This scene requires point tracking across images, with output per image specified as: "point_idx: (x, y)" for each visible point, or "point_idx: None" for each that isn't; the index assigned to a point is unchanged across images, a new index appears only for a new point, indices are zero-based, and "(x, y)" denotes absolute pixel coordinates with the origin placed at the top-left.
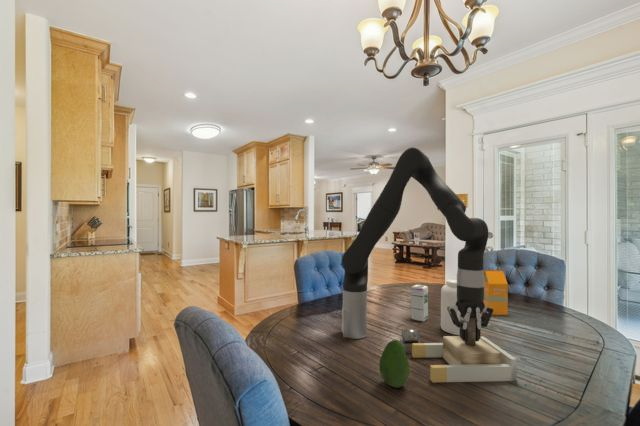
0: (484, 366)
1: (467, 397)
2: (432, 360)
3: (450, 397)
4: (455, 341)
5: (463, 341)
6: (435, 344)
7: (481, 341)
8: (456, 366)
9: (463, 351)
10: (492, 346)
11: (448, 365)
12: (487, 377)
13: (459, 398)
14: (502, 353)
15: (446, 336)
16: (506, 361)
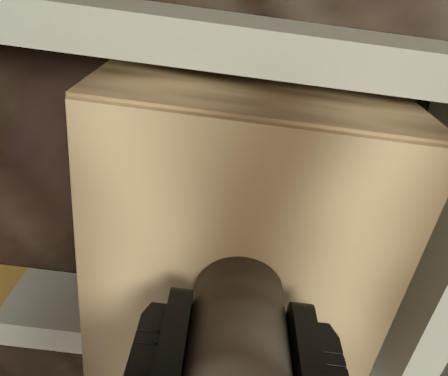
0: None
1: (74, 371)
2: (33, 72)
3: (7, 362)
4: (135, 233)
5: (212, 246)
6: (31, 35)
7: (386, 269)
8: (55, 344)
9: (104, 371)
10: (446, 280)
11: (12, 330)
12: None
13: (40, 370)
14: (403, 366)
15: (99, 112)
16: (380, 365)
